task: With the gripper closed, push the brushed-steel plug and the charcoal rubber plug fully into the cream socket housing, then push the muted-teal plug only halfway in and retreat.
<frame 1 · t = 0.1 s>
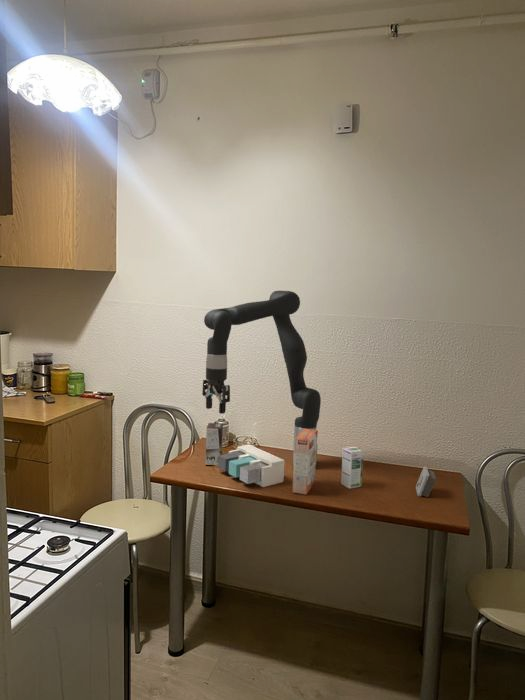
hand: (215, 410, 186), 29 cm above the table, fingers open, 8 cm apart
charcoal plug: (232, 461, 206), point 5 cm above the table, slide at 0.0 cm
socket housing: (255, 475, 204), on the table
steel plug: (254, 472, 194), point 5 cm above the table, slide at 0.0 cm
teal plug: (243, 466, 200), point 5 cm above the table, slide at 0.0 cm
coffee box: (213, 463, 217), on the table
syrup box: (351, 485, 198), on the table
electrical switch: (424, 493, 193), on the table
cracker box: (304, 488, 194), on the table
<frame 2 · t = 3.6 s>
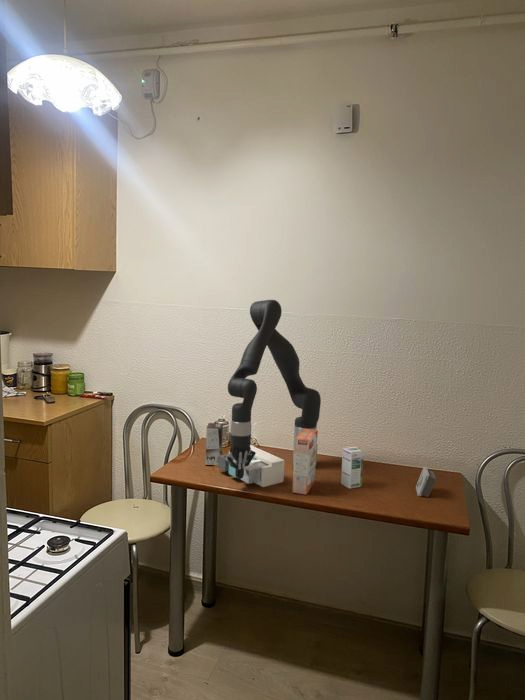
hand: (239, 478, 190), 4 cm above the table, fingers closed
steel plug: (255, 472, 195), point 5 cm above the table, slide at 0.5 cm, touching gripper
everything else where it was.
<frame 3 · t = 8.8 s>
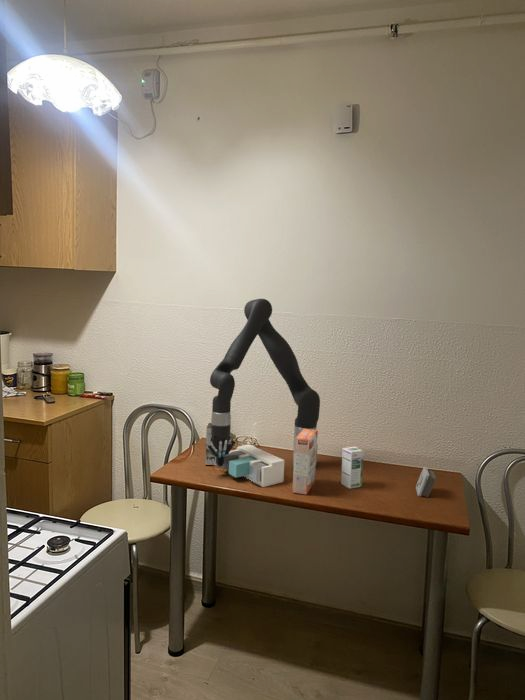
hand: (219, 465, 202), 4 cm above the table, fingers closed
charcoal plug: (235, 460, 207), point 4 cm above the table, slide at 1.4 cm, touching gripper
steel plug: (263, 470, 197), point 5 cm above the table, slide at 4.0 cm
everything else where it was.
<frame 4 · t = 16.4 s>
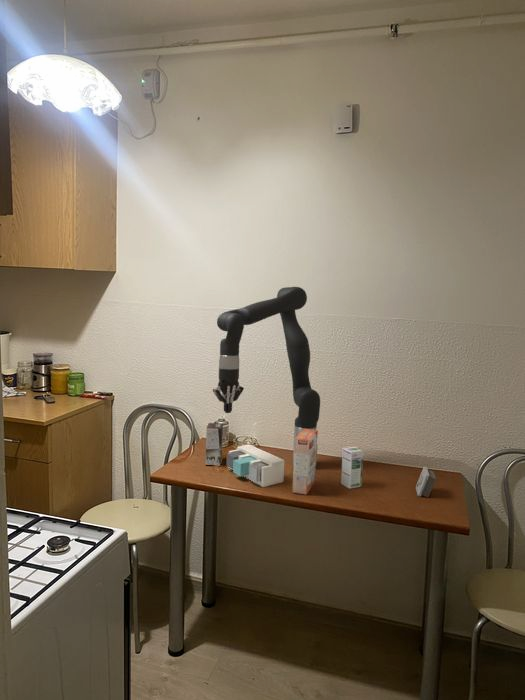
hand: (227, 412, 193), 27 cm above the table, fingers closed
charcoal plug: (240, 459, 209), point 4 cm above the table, slide at 4.0 cm
teal plug: (247, 465, 201), point 4 cm above the table, slide at 2.0 cm
everything else where it was.
at the end: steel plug slide at 4.0 cm; charcoal plug slide at 4.0 cm; teal plug slide at 2.0 cm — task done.
